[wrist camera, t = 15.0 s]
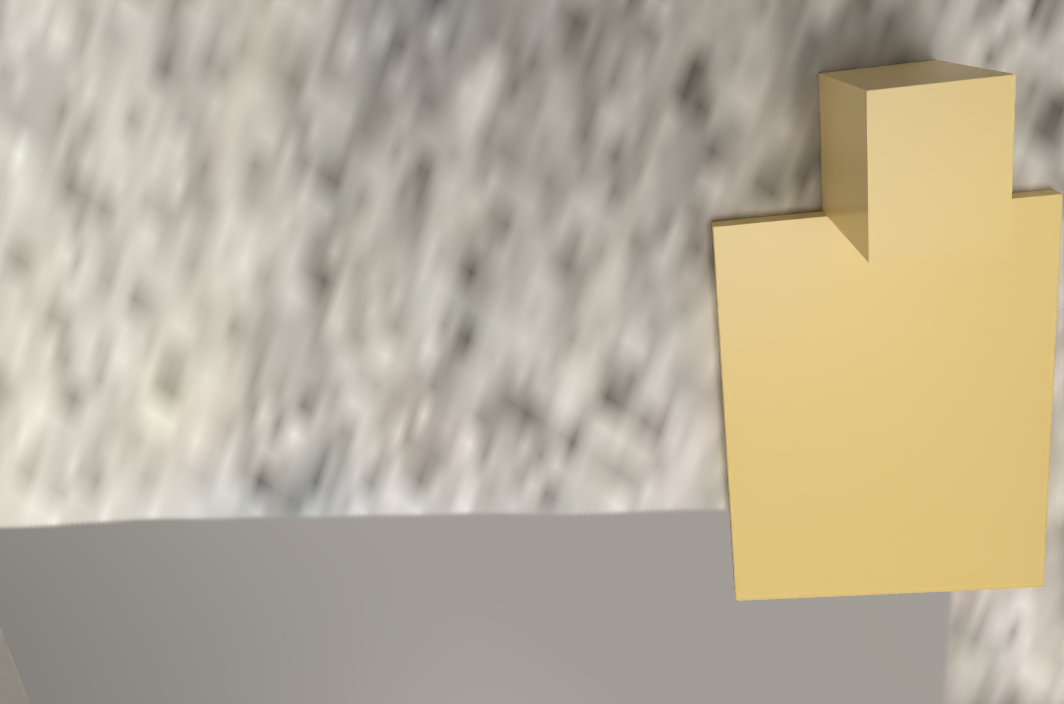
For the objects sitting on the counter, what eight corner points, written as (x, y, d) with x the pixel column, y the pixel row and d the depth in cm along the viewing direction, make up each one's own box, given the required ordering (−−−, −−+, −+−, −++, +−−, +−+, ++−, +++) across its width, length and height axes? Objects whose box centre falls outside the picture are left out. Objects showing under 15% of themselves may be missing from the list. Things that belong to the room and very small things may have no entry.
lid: (702, 86, 36) (719, 107, 29) (1058, 46, 34) (1175, 56, 27) (734, 587, 43) (754, 711, 35) (1033, 573, 41) (1122, 700, 33)
